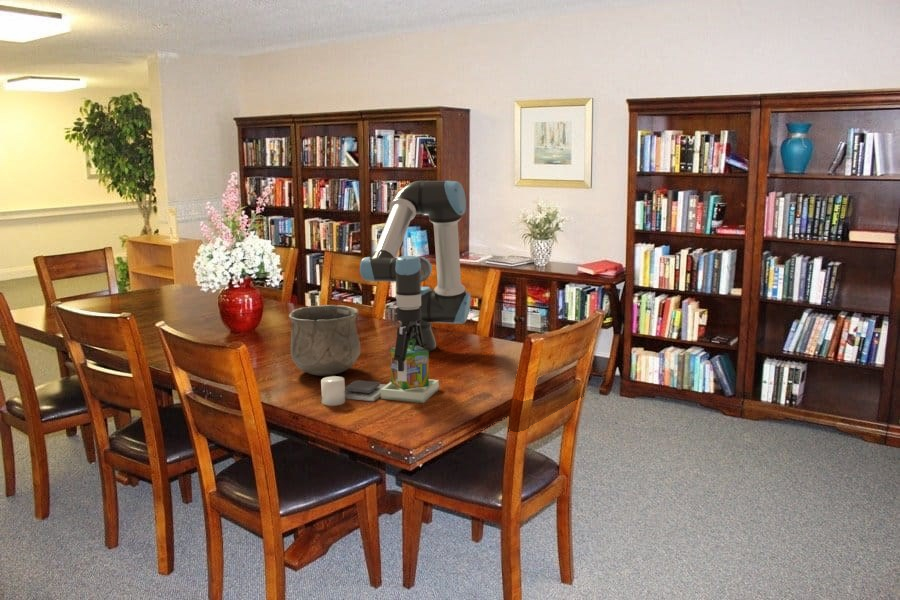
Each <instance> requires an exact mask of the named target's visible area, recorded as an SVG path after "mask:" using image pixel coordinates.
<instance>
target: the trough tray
mask: <svg viewBox="0 0 900 600" xmlns="http://www.w3.org/2000/svg"><path fill="white" fill-rule="evenodd" d="M439 381H440V380H439V379H433V378H432V379H431V378H429V386H425V387H418V388H412V389H407V390H402V389H401V388H399V387H398V386H396V385H395V384H393V383H391V381H389V383H387V384H385V385H386V386H384V387H383V388H382V389H381V396H380V399H381V400H389V401H390V400H391V401H400V402H407V403H408V402H409V403H410V402H411V403H419V404H420V403H421V404H424V403H426V402H427V401H428V400H429V399H431V397H432V396H433V395H435V393H436V392H438V390H439V388H440V384H439V383H440V382H439Z"/></svg>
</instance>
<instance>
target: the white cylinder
mask: <svg viewBox="0 0 900 600" xmlns="http://www.w3.org/2000/svg"><path fill="white" fill-rule="evenodd" d="M320 386H321V389H320V391H321V404H322V405H324V406H328V407H331V406H332V407H333V406H340V405H343V404H345V403H346V398H345V386H346V384H345V377H343V376H336V375H330V376H324V377H323V378H322V379H320Z"/></svg>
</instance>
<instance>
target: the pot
mask: <svg viewBox="0 0 900 600" xmlns="http://www.w3.org/2000/svg"><path fill="white" fill-rule="evenodd" d="M358 315H360V311H359V309H357V308H356V307H352V306H348V305H340V304H338V305H336V304H321V305H311V306H306V307H299V308H296V309H293V310H292V311H291V312H290V313H289V315H288V318H289V319H290V320H291V321H290V322H291V324H290V327H291V332H290V356H291V359H292V361H293V363H294V365H295V366H296V367H297V368H298V369H300V370H301V371H303V372H304V373H308V374H309V375H314V376H320V377H329V376H335V375H337V374H341V373H343V372H345V371H348V370H349V369H350V368H351V367H352V366H353V365H354V364H355V362H356V361H357V360H358V359H359V356H360V354H361V342H360V338H359V335H358V331H357V322H356V319H357V316H358Z"/></svg>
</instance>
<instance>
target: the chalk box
mask: <svg viewBox="0 0 900 600" xmlns="http://www.w3.org/2000/svg"><path fill="white" fill-rule="evenodd" d="M411 341H412V342H413V345H410V342H411ZM411 341H409V345H408V349H407V353H406V358H405V360H407V381H406V382H405V381H398V373H397V360H394V354H395V347H396V346H394V347H391V348H390V382H391V383H393V384H395V385H396V386H398V387H399V388H401V389H402V390H407V389H412V388H418V387H425V386H429V379H430V378H429V377H430V374H429V373H430V372H429V371H430V370H429V367H430V358H429V357H430V356H429V355H430V351H429V352H428V350H427V349H425V348H423V347H421V346H419V345H415V344H416V339H413V338H411Z"/></svg>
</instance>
